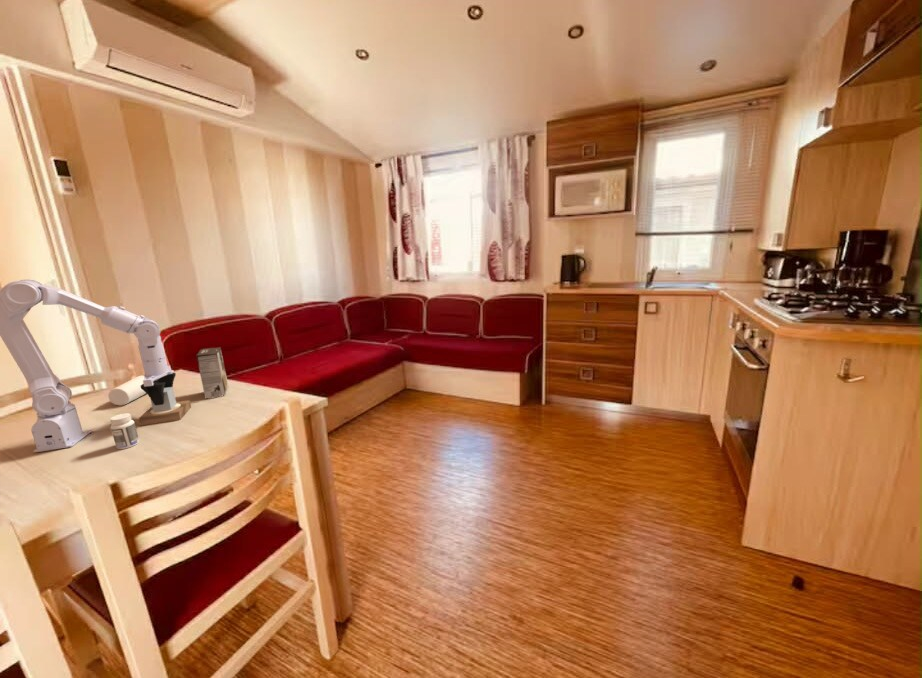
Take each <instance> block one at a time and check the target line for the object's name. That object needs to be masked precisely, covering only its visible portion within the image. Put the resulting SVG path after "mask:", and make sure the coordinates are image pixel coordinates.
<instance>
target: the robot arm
mask: <svg viewBox="0 0 922 678" xmlns="http://www.w3.org/2000/svg"><path fill="white" fill-rule="evenodd" d="M41 302H42V305H44V306H46V305H47V306H48V305H54V306H55V305H61V306H64V307H67V308H70V309H73V310H75V311H79V312H83V313H84V314H88V315H91V316H93V317H97V318H98V319H99V320H100V323H101V324H102V325H105V326H106V327H110V328H113V329H114V330H117V331H120V332H123V333H127V334H134V337H136V339H137V342H138V346H137V347H138V351H139V354H140V358H141V363H142V366H143V372H144V375H143V376H144V380H143V384H142V385H141V389H142V390H144V391H145V392H146V395H147V396H148V397H149V398H151V399H150V401H151V400H152V402H153V403H154V405H155V406H156V405H163V404H164V388H168V387H173V388H174V381H175V378H176V375H177V374H176V372H175V371H174V370H173V369H172V368H171V365H168V361H167V357H166V352H165V348H164V344H163V342H162V337H161V329H160V327H159V324H158V323H157V322H156V321H155V320H153V319H152V318H148V317H146V316H145V315H143V314H141V315H138V314H135V313H133V312H130V311H128V310H126V307H124V306H122V305H120V306H119V307H118V306H116V305H111V306H107V307H105V306H103V305H101V304H98V303H96V302H93V301H91V300H89V299H86V298H84V297H81V296H78V295H77V294H74V293H71V292H69V291H67V290H65V289H63V288H59V287H56V286H53V285H50V284H47V283H43V284H42V283H41V282H39V281H36V280H35V279H34V280H33V279H20V280H16V281H15V280H14V281H12V282H9V283H7V284H5V285H4V286H3V287H2V288H1V289H0V338H1V340H2V341H3V343H4V345H5V346H6V348H7V349H8V352H9V353H10V354H11V356H12V358H13V359H14V361H15V363H16V365H17V366H18V369H19V370H20V372H21V374H22V375H23V377H24V378H25V380H26V382H27V383H28V388H29V389H28V390H29V394H30V395H31V397H32V403H31V406H32V409H33V410H34V411H35V412H36V417H37V419H36V421H35V423H34V424H33V425H32V427H31V435H32V437H33V440H34V444H35V445H36V448H35V449H34V450H33V453H40V452H46V451H55V450H59V449H65V448H71V447H73V446H75V445H76V444H77V443H79V442H80V441H81V440H83V439H84V438H85V437H87V436H88V435H89V434H90V433H92V430H90V429H88V430H83V427H82V425H81V421H80V418H79V414H78V411H77V407H76V404H74V403H72V402H71V401H70V399H71V398H72V396H73V395H72V394H73V393H72V388H70V387H69V386H67V385H66V384H64V383H63V382H62V381H61V380H60V377H58V376H57V375H56V374H55V373H54V371H53V370H52V369H51V367H50V365H49V363H48V361H47V359H46V358H45V356H44V354H43V352H42V351H41V348H40V347H39V345H38V343H37V342H36V340H35V339H34V337H33V334H32V333H31V331H30V329H29V328H28V325H27V324H26V322H25V320H24V318H25V317H26V315H28V314H29V312H30V311H31V309H32V308H33V307H34V306H36V305H38V304H39V303H41Z"/></svg>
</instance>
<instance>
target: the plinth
mask: <svg viewBox="0 0 922 678" xmlns="http://www.w3.org/2000/svg"><path fill="white" fill-rule="evenodd" d="M176 404H177V405H176V406H175V407H174V408H173V409H172V410H167V411H160V412H154V411H153V407H152V406H151V407H149V408H148V409H147V410H146V411H145V412H144V413H143V414H142V415H140V416H139V418H138V419H139V423H140V426H146V425H147V426H149V425H154V424H160V423H168V422H174V421H181V420H182V419H183V417H185V415H186V414H187V413H188V412H189V411H190V409H192V404H191V400H190V399H189V400H182V401H180V400H179V401H176Z"/></svg>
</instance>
